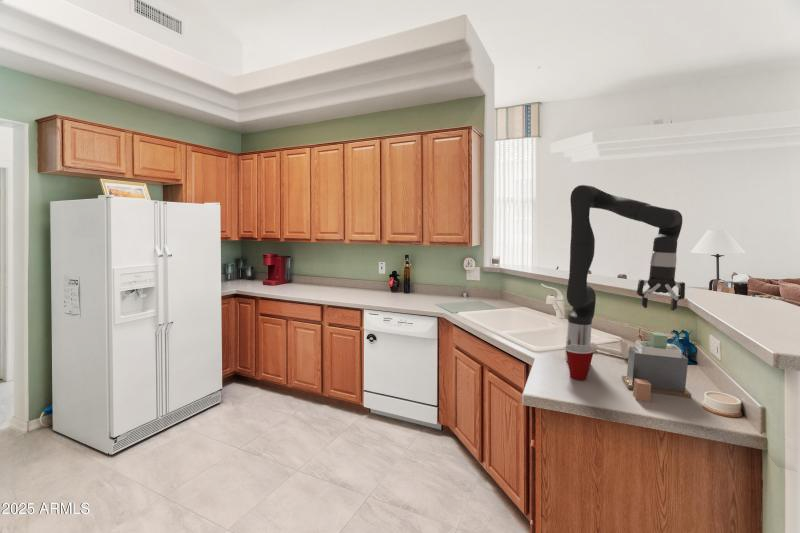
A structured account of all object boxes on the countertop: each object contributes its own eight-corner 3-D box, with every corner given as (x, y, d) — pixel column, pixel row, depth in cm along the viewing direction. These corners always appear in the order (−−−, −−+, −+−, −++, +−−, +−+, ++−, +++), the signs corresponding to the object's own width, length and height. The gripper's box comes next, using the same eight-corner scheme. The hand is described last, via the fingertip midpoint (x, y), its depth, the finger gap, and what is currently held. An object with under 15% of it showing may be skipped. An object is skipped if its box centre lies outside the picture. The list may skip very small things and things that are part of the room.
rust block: (635, 400, 125) (637, 383, 125) (632, 395, 129) (634, 378, 129) (649, 402, 124) (651, 384, 124) (646, 396, 128) (647, 380, 127)
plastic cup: (565, 369, 152) (567, 341, 150) (595, 376, 145) (597, 346, 144) (559, 378, 143) (561, 348, 142) (590, 385, 137) (592, 354, 135)
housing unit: (627, 388, 134) (631, 346, 132) (621, 378, 143) (624, 338, 142) (691, 397, 128) (695, 352, 126) (680, 386, 137) (684, 344, 136)
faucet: (592, 358, 179) (586, 338, 180) (632, 356, 166) (626, 334, 167) (589, 360, 176) (583, 340, 177) (629, 358, 163) (623, 336, 165)
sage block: (652, 351, 133) (654, 334, 132) (649, 347, 137) (650, 332, 136) (665, 352, 132) (667, 336, 131) (662, 349, 135) (663, 333, 135)
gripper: (642, 264, 133) (638, 309, 135) (690, 267, 128) (685, 313, 130) (637, 262, 140) (633, 305, 142) (682, 265, 135) (678, 308, 137)
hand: (658, 308), depth 136 cm, fingers open, 8 cm apart
